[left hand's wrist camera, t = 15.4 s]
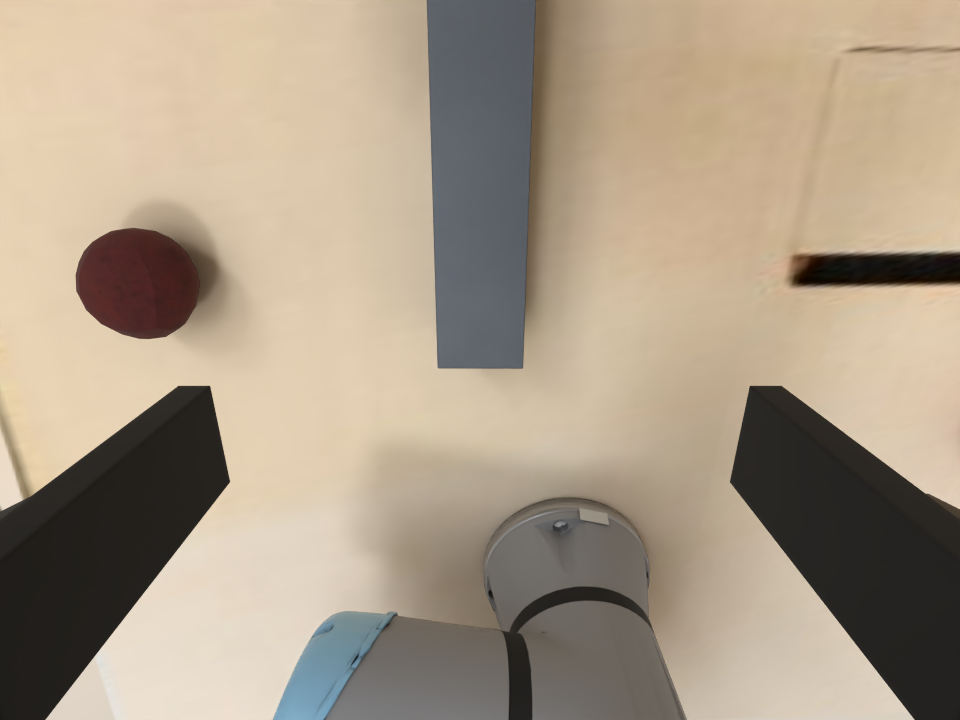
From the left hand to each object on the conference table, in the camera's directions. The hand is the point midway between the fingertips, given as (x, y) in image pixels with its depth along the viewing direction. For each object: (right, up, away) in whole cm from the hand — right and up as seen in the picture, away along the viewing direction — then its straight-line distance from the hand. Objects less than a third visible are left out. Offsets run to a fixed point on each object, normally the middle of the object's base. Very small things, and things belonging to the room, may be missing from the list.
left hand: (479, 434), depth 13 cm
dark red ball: (-24, +8, +26) cm, 36 cm away
